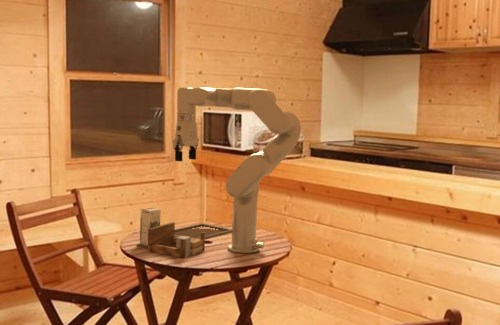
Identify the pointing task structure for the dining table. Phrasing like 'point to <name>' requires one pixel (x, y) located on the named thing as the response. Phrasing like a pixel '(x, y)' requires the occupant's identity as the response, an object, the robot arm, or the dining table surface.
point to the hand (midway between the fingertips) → (185, 160)
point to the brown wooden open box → (167, 240)
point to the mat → (142, 245)
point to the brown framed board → (197, 232)
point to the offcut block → (187, 244)
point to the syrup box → (148, 222)
